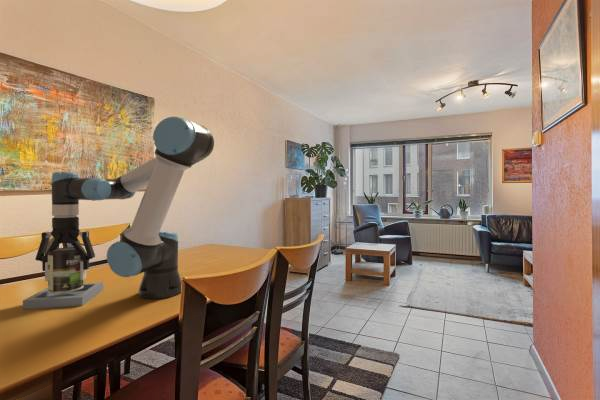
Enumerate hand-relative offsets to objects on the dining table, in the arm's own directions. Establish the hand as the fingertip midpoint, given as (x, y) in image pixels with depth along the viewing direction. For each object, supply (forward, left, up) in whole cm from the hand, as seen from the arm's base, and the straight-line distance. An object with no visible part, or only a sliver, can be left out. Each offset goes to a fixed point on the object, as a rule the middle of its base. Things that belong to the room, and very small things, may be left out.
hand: (66, 279), depth 110 cm
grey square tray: (0, 0, -7) cm, 7 cm away
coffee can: (0, 0, -4) cm, 4 cm away
